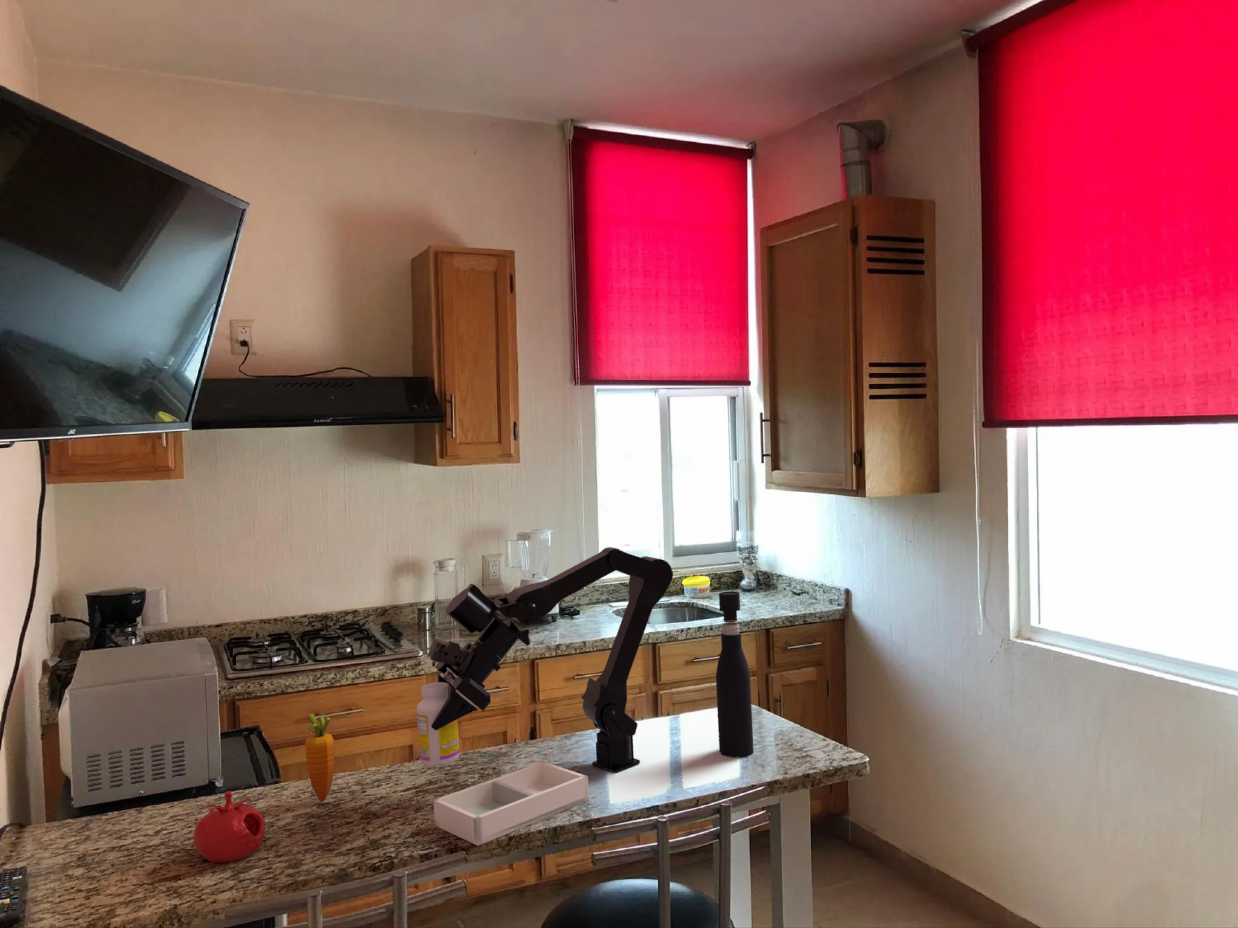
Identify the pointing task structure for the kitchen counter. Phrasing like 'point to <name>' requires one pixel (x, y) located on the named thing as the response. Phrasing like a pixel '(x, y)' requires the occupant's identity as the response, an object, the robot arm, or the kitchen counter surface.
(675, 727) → the kitchen counter surface
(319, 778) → the carrot
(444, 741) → the supplement bottle
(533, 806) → the slot organizer
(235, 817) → the red tomato
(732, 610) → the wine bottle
